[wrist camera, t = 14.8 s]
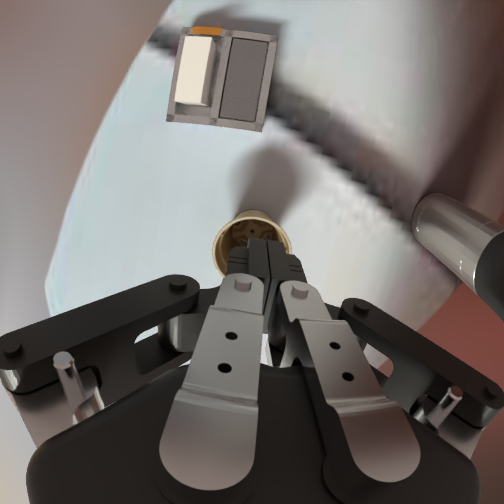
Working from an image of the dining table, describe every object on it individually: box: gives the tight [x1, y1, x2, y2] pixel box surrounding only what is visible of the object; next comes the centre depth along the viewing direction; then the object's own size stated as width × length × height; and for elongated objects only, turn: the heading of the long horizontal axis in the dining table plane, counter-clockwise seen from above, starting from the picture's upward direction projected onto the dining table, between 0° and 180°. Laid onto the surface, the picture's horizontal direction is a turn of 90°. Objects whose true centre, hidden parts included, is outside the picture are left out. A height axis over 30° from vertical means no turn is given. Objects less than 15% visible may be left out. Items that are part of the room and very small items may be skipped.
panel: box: [174, 36, 219, 107], centre depth 31 cm, size 3×8×7 cm, turn 171°
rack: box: [166, 26, 278, 132], centre depth 33 cm, size 12×13×4 cm
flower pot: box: [212, 210, 292, 278], centre depth 39 cm, size 9×9×9 cm
